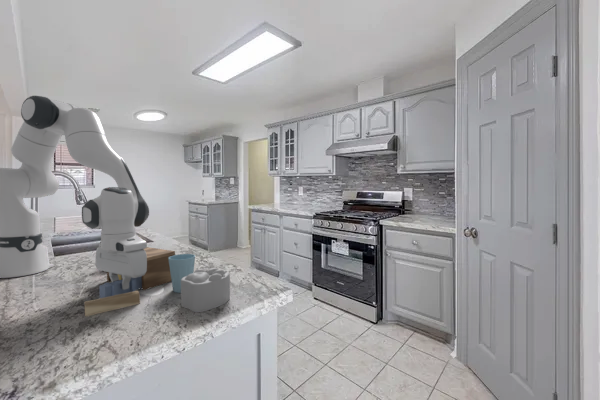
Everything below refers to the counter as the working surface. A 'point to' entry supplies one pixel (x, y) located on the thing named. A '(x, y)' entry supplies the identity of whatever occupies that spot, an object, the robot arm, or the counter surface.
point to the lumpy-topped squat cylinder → (205, 289)
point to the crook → (115, 289)
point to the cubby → (155, 268)
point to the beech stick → (111, 303)
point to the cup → (180, 269)
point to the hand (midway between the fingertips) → (120, 287)
